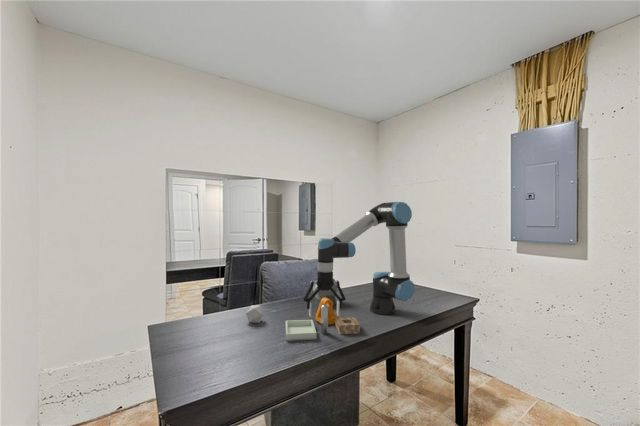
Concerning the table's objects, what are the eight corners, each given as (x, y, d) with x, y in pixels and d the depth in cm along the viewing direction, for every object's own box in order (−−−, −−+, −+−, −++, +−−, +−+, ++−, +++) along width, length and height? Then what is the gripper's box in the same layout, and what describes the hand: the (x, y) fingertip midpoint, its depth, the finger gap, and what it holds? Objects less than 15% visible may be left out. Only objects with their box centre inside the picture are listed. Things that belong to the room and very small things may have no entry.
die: (266, 320, 148) (258, 303, 151) (267, 317, 140) (259, 299, 144) (251, 328, 144) (243, 310, 148) (251, 325, 137) (243, 307, 140)
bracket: (321, 326, 140) (322, 302, 140) (315, 321, 146) (315, 298, 146) (339, 322, 145) (340, 299, 145) (332, 318, 151) (333, 296, 152)
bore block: (354, 325, 141) (354, 317, 142) (359, 333, 132) (360, 324, 132) (335, 325, 140) (335, 318, 140) (339, 334, 130) (339, 325, 130)
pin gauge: (327, 331, 133) (327, 304, 133) (328, 334, 130) (328, 306, 130) (320, 331, 132) (320, 304, 133) (321, 334, 129) (321, 306, 130)
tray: (312, 325, 140) (312, 319, 140) (316, 339, 124) (316, 332, 124) (285, 326, 138) (285, 320, 138) (286, 340, 122) (286, 334, 122)
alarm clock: (331, 299, 185) (331, 272, 186) (340, 303, 177) (340, 275, 177) (310, 303, 177) (311, 274, 177) (318, 307, 168) (319, 277, 168)
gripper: (348, 269, 137) (347, 312, 137) (298, 269, 134) (297, 313, 133) (352, 272, 130) (351, 317, 129) (299, 272, 126) (298, 318, 126)
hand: (324, 315), depth 131 cm, fingers open, 13 cm apart
